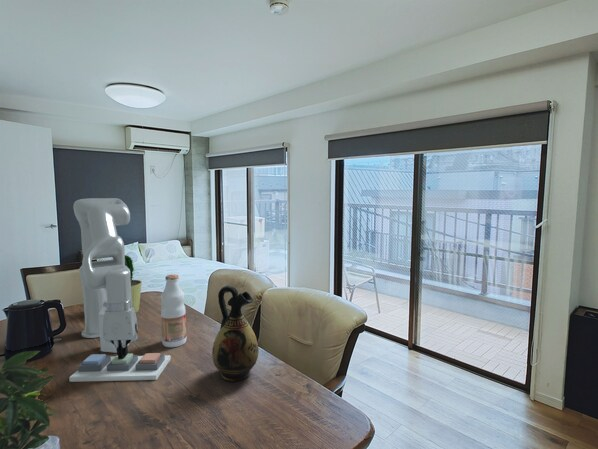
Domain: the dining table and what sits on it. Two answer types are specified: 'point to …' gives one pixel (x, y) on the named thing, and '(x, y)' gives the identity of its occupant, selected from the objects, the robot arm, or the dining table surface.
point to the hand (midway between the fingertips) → (122, 357)
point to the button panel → (120, 370)
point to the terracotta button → (150, 358)
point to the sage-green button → (125, 360)
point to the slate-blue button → (94, 359)
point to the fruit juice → (173, 313)
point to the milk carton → (104, 344)
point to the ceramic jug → (234, 338)
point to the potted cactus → (134, 285)
